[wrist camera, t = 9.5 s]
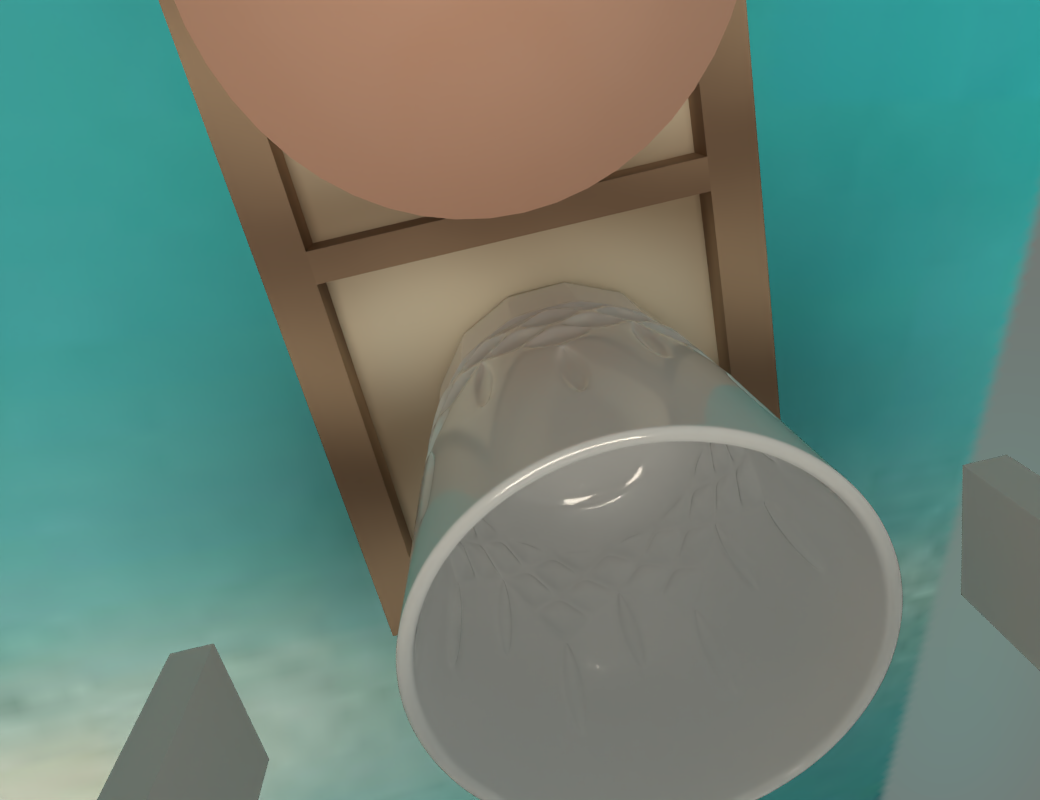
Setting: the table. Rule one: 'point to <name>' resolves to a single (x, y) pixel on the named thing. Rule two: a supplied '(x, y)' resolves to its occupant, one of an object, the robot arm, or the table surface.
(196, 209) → the table surface
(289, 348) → the wooden divided tray
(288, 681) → the table surface
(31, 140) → the table surface
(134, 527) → the table surface
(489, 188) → the pink round cylinder
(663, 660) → the white cup
